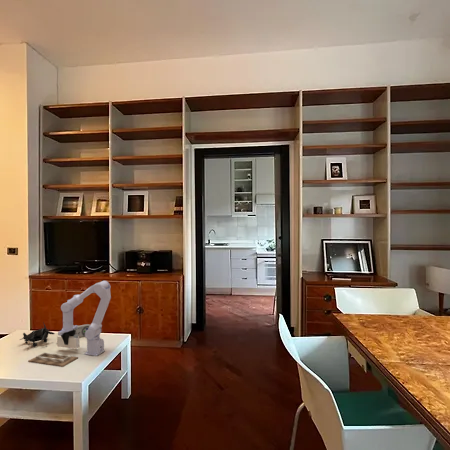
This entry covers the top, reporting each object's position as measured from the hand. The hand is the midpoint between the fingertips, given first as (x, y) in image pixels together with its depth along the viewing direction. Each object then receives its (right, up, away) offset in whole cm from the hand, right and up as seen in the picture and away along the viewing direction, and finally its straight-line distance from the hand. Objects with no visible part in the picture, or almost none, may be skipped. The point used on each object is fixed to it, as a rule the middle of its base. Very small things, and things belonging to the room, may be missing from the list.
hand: (68, 343), depth 210 cm
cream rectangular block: (0, -2, 0) cm, 2 cm away
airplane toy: (-27, -5, +13) cm, 31 cm away
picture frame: (-3, -5, -13) cm, 14 cm away
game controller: (-5, -5, +25) cm, 27 cm away
